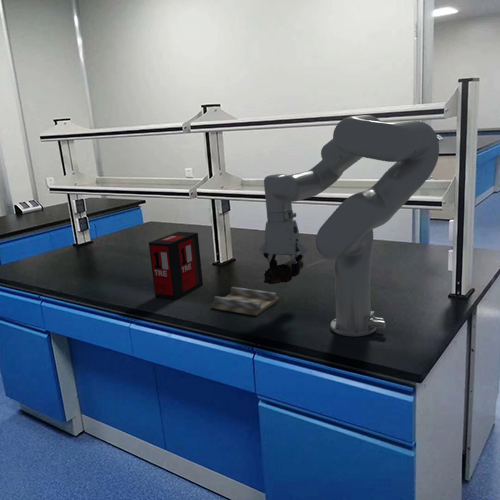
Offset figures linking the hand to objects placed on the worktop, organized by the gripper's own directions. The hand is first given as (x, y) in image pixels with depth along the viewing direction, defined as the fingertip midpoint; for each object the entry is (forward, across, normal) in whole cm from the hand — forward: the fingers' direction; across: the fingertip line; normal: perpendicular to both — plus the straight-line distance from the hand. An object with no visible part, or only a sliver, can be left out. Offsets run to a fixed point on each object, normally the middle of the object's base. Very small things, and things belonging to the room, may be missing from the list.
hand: (285, 274), depth 154 cm
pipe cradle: (+11, +16, 0) cm, 20 cm away
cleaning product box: (+11, +45, -2) cm, 47 cm away
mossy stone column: (+2, 0, 0) cm, 2 cm away
